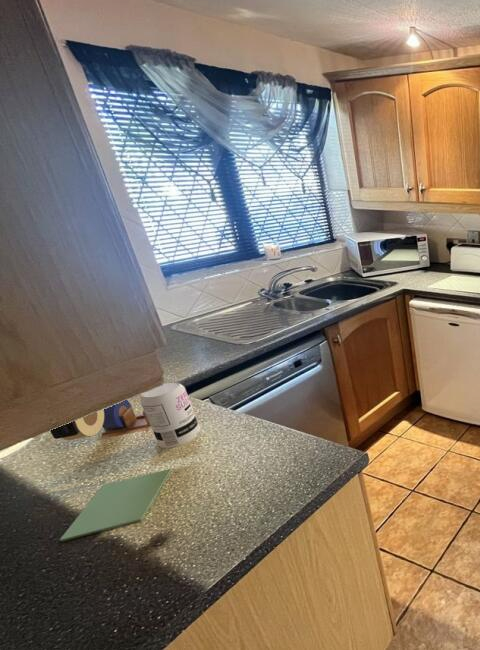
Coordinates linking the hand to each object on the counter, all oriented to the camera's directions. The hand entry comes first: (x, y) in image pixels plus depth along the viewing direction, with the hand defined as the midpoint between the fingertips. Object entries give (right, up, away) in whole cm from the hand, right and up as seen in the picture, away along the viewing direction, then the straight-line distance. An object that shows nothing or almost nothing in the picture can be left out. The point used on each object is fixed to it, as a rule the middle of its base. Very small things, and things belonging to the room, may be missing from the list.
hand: (81, 421), depth 72 cm
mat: (0, -19, +7) cm, 20 cm away
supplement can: (-3, -12, +25) cm, 28 cm away
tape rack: (-20, -10, +30) cm, 37 cm away
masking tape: (0, -3, +1) cm, 3 cm away
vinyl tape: (-22, -10, +29) cm, 37 cm away
